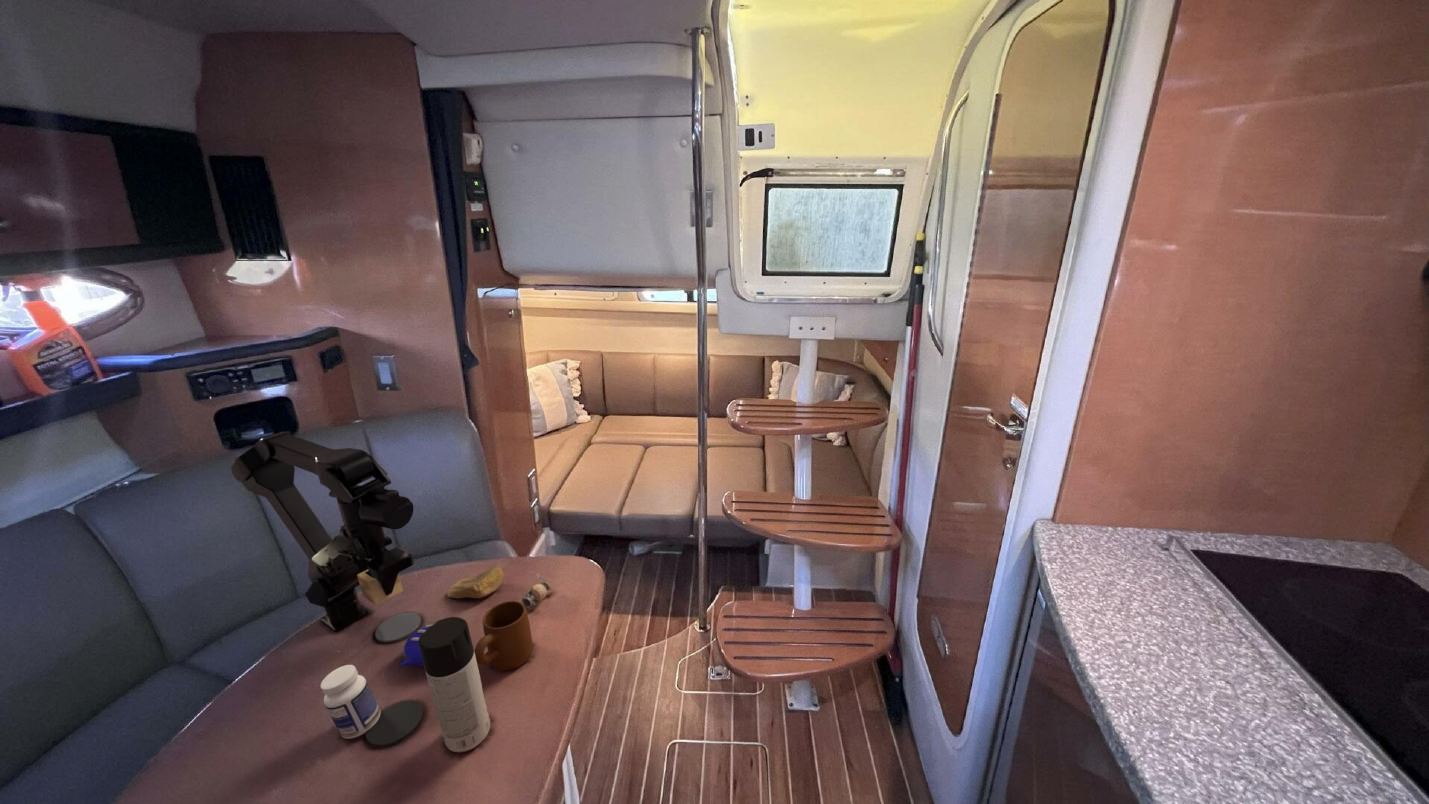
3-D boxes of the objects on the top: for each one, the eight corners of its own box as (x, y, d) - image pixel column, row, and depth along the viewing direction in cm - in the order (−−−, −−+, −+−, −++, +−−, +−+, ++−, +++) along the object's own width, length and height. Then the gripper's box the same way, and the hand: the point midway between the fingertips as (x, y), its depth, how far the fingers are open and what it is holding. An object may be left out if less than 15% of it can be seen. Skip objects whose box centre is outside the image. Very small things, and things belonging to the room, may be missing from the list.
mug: (502, 696, 90) (493, 651, 87) (464, 687, 92) (454, 643, 89) (542, 644, 100) (534, 603, 98) (507, 637, 102) (499, 597, 99)
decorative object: (383, 638, 94) (433, 609, 103) (385, 667, 95) (435, 635, 104) (424, 657, 90) (472, 625, 99) (426, 687, 91) (474, 652, 100)
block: (363, 596, 101) (356, 574, 100) (390, 582, 105) (384, 561, 104) (376, 605, 99) (369, 583, 97) (403, 590, 103) (397, 569, 101)
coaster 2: (356, 731, 84) (356, 729, 84) (407, 695, 90) (406, 693, 90) (382, 756, 80) (381, 754, 80) (433, 716, 86) (432, 714, 86)
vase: (538, 574, 109) (516, 598, 107) (557, 591, 110) (536, 616, 108) (537, 571, 114) (516, 594, 112) (555, 588, 115) (535, 611, 113)
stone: (470, 589, 109) (440, 589, 114) (480, 608, 111) (450, 607, 115) (502, 562, 117) (472, 562, 121) (511, 580, 118) (481, 580, 123)
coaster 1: (367, 633, 105) (367, 631, 105) (407, 609, 111) (407, 607, 111) (388, 648, 101) (388, 646, 101) (429, 622, 107) (428, 620, 107)
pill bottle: (377, 702, 89) (355, 655, 86) (385, 721, 85) (363, 673, 82) (337, 726, 85) (313, 679, 82) (344, 747, 81) (319, 698, 78)
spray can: (500, 722, 85) (478, 619, 79) (469, 760, 79) (442, 653, 72) (467, 711, 87) (443, 611, 81) (434, 748, 81) (405, 642, 75)
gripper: (289, 524, 95) (313, 596, 100) (336, 556, 86) (360, 634, 91) (356, 498, 104) (374, 566, 109) (405, 524, 94) (424, 596, 99)
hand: (381, 589), depth 102 cm, fingers closed on block, 5 cm apart
